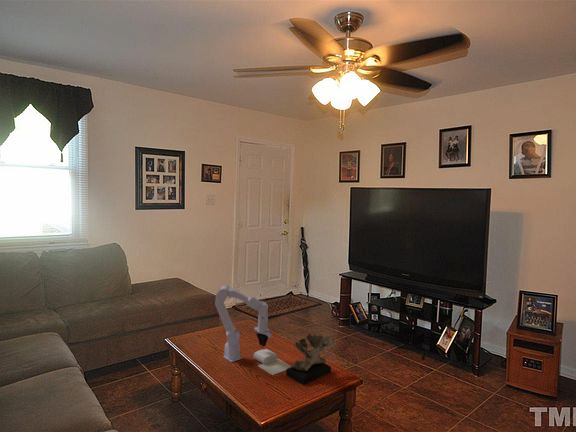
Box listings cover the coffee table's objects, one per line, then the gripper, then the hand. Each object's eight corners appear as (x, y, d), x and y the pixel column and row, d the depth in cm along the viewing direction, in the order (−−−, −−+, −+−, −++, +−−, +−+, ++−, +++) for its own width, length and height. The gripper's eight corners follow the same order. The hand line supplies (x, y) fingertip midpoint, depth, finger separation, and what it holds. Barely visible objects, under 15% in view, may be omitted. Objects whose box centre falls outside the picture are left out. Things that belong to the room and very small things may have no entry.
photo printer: (277, 360, 224) (265, 353, 233) (277, 353, 223) (265, 347, 233) (264, 365, 217) (251, 358, 226) (263, 358, 217) (251, 351, 226)
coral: (318, 362, 223) (319, 327, 222) (343, 375, 208) (344, 337, 206) (285, 374, 207) (286, 336, 206) (310, 390, 192) (311, 349, 190)
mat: (257, 366, 217) (257, 365, 217) (277, 358, 226) (277, 358, 226) (272, 375, 206) (272, 375, 206) (293, 367, 216) (293, 367, 216)
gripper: (275, 325, 221) (275, 347, 222) (261, 318, 232) (260, 340, 233) (266, 327, 217) (265, 350, 218) (251, 321, 228) (251, 342, 229)
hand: (262, 345), depth 225 cm, fingers closed
